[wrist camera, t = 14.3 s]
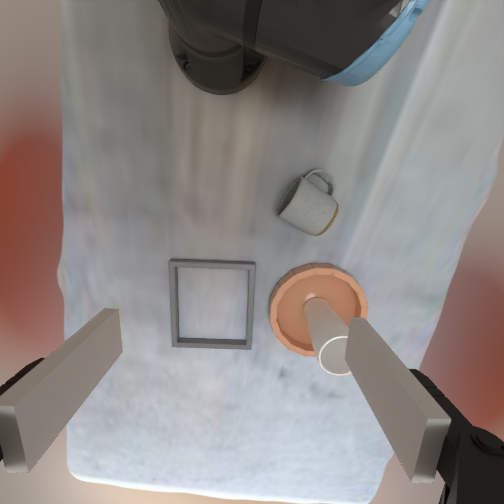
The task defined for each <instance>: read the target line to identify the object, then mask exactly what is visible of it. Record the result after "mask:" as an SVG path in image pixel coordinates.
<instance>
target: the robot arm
mask: <svg viewBox="0 0 504 504" xmlns="http://www.w3.org/2000/svg"><path fill="white" fill-rule="evenodd" d="M159 2H160V4H161V6H162V8H163V10H164V12H165V13H166V15H167V17H168V19H169V39H170V44H171V48H172V51H173V54H174V57H175V59H176V61H177V63H178V65H179V66H180V68H181V70H182V71H183V73H184V74H185V75H186V77H187V78H188V79H189V80H190V81H191V82H192V83H193V84H194V85H196V86H197V87H199V88H200V89H202V90H204V91H206V92H209V93H213V94H219V95H226V94H232V93H235V92H238V91H240V90H242V89H244V88H245V87H247V86H248V85H249V84H251V83H252V82H253V81H254V80H255V78H256V77H257V76H258V75H259V73H260V71H261V70H262V68H263V66H264V63H265V61H266V57H267V56H268V57H271V58H273V59H275V60H278V61H280V62H283V63H285V64H288V65H290V66H293V67H295V68H298V69H300V70H303V71H305V72H308V73H310V74H312V75H315V76H317V77H318V78H319V79H320V80H322V81H324V80H325V81H332V82H335V83H338V84H341V85H344V86H357V85H360V84H362V83H364V82H365V81H367V80H369V79H370V78H371V77H372V76H374V75H375V74H376V73H377V72H378V71H379V70H380V69H381V68H382V67H383V66H384V65H385V64H386V63H387V62H388V61H389V59H390V58H391V57H392V56H393V55H394V54H395V52H396V51H397V50H398V48H399V47H400V46H401V45H402V43H403V42H404V40H405V39H406V38H407V36H408V35H409V33H410V32H411V30H412V29H413V27H414V22H415V20H416V18H417V17H418V16H419V15H420V14H421V13H422V12H423V11H424V9H425V7H426V6H427V4H428V2H429V0H159ZM122 352H123V351H122V341H121V330H120V320H119V309H109V308H105V309H103V310H102V311H101V312H100V313H99V314H97V315H96V316H95V317H94V318H93V319H91V320H90V321H89V322H88V323H87V324H86V325H84V326H83V327H82V328H81V329H80V330H78V331H77V332H76V333H75V334H74V335H72V336H71V337H70V338H69V339H68V340H66V341H65V342H64V343H63V344H62V345H61V346H59V347H58V348H57V349H56V350H55V351H53V352H52V353H51V354H50V355H49V356H48V357H46V358H40V359H38V360H36V361H34V362H32V363H30V364H28V365H27V366H25V367H24V368H23V369H22V370H20V371H19V372H18V373H17V374H15V376H14V377H12V378H10V379H9V380H8V381H7V382H6V383H5V384H3V385H2V386H1V387H0V461H1V460H2V459H3V462H4V466H5V470H6V472H17V473H29V472H30V471H31V469H32V468H33V467H34V466H35V464H36V463H37V461H38V460H39V459H40V457H42V455H43V454H44V453H45V451H46V450H47V449H48V448H49V446H50V445H51V444H52V442H53V441H54V440H55V438H56V437H57V436H58V434H59V433H60V432H61V431H62V429H63V428H64V427H65V425H66V424H67V423H68V422H69V420H70V419H71V418H72V416H73V415H74V414H75V413H76V411H77V410H78V409H79V407H80V406H81V405H82V404H83V402H84V401H85V400H86V398H87V397H88V396H89V394H90V393H91V392H92V391H93V389H94V388H95V387H96V385H97V384H98V383H99V381H100V380H101V379H102V378H103V376H104V375H105V374H106V372H107V371H108V370H109V369H110V367H111V366H112V365H113V363H114V362H115V361H116V359H117V358H118V357H119V356H120V354H121V353H122ZM344 359H345V361H346V363H347V365H348V367H349V368H350V370H351V372H352V374H353V376H354V378H355V379H356V381H357V383H358V385H359V387H360V389H361V391H362V392H363V394H364V396H365V398H366V400H367V402H368V404H369V405H370V407H371V409H372V411H373V413H374V415H375V417H376V418H377V420H378V422H379V424H380V426H381V428H382V430H383V431H384V433H385V435H386V437H387V439H388V441H389V442H390V444H391V446H392V448H393V450H394V452H395V454H396V455H397V457H398V459H399V461H400V463H401V465H402V466H403V468H404V470H405V472H406V474H407V476H408V478H409V479H410V481H411V483H433V482H434V478H435V474H436V471H437V470H438V472H439V474H440V475H441V477H442V478H443V480H444V481H445V485H444V488H443V491H442V495H441V498H440V501H439V504H504V442H503V441H502V440H501V439H499V438H498V437H497V436H495V435H494V434H492V433H490V432H488V431H486V430H484V429H481V428H479V427H476V426H473V425H472V424H471V423H470V422H469V421H468V420H467V419H466V418H465V417H464V416H463V415H462V414H461V412H460V411H459V410H458V409H457V408H456V407H455V406H454V405H453V404H452V403H451V402H450V401H449V399H448V398H447V397H445V396H444V394H443V393H442V392H441V391H440V390H439V389H437V386H436V385H434V383H433V382H432V381H431V380H430V379H429V378H428V377H427V376H425V375H424V374H422V373H421V372H420V371H418V370H417V369H408V368H407V367H406V366H405V365H404V363H403V362H402V361H401V360H400V359H399V358H398V356H397V355H396V354H395V353H394V352H393V351H392V349H391V348H390V347H389V346H388V345H387V344H386V342H385V341H384V340H383V339H382V338H381V337H380V335H379V334H378V333H377V332H376V331H375V330H374V328H373V327H372V326H371V325H370V324H369V323H368V321H367V320H366V319H365V318H364V317H351V318H350V325H349V332H348V338H347V345H346V352H345V358H344Z"/></svg>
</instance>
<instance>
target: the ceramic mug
mask: <svg viewBox="0 0 504 504" xmlns="http://www.w3.org/2000/svg"><path fill="white" fill-rule="evenodd" d="M312 174H316V175H319V176H320V177H321V178H323V179H324V180H325V181H326V183H328V185H329V194H327V193H325V192H324V191H322V190H321V189H320V188H318V187H317V186H315V185H314V184H313V183H311V182H310V181H308V180H307V177H308V176H310V175H312ZM334 192H335V183H334V180H333V178H332V177H331V176H330V175H329V174H328V173H327V172H326V171H324V170H321V169H316V170H313V171H311V172H309V173H308V174H307V175H306V176H305V177H302V176H301V177H299V178H298V179H297V180H296V181H295V182H294V183H293V184H292V185H291V187H290V188H289V190H288V191H287V193H286V194H285V196H284V198H283V199H282V201H281V203H280V205H279V208H278V210H277V216H278V217H279V218H281V219H282V220H284V221H286V222H288V223H290V224H291V225H293V226H295V227H297V228H299V229H300V230H302V231H304V232H306V233H308V234H310V235H313V236H318V235H321V234H323V233H324V232H325V231H326V230H327V229H328V228H329V227H330V226H331V224H332V223H333V221H334V220H335V217H336V215H337V213H338V203H337V202H336V200H335V199H334V198H333V195H334Z"/></svg>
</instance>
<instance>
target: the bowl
mask: <svg viewBox="0 0 504 504" xmlns="http://www.w3.org/2000/svg"><path fill="white" fill-rule="evenodd" d="M312 298H322V299H324V300H326V301H327V302H328V303H329V305H330V306H331V307H332V308H333V310H334V311H335V312H336V313H337V314H338V315H339V316H340V317H341V318H342V319H343V320H344V321H345V322H346V324H347V325H348V326H349V325H350V318H351V317H364V318H365V319H366V318H367V312H368V305H367V301H366V298H365V294H364V291H363V289H362V288H361V287H360V286H359V285H358V284H357V282H356V281H355V280H354V279H353V278H352V277H351V276H350V275H349V274H348V273H347V272H346V271H343V270H341V269H339V268H337V267H335V266H333V265H330V264H316V263H311V264H307V265H304V266H301V267H298V268H295V269H293V270H291V271H290V272H289V273H288V274H286V275H285V276H284V277H283V278H282V279H281V280H279V282H278V283H277V285H276V287H275V289H274V290H273V292H272V294H271V296H270V305H269V317H270V323H271V325H272V328H273V330H274V333H275V336H276V338H277V339H278V340H279V341H280V342H281V343H282V344H283V345H284V346H285V347H286V348H287V349H289V350H291V351H294V352H296V353H298V354H301V355H303V356H316V355H315V352H314V349H313V346H312V343H311V339H310V335H309V331H308V327H307V323H306V319H305V316H304V313H303V308H304V305H305V304H306V302H307V301H308V300H310V299H312Z"/></svg>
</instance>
